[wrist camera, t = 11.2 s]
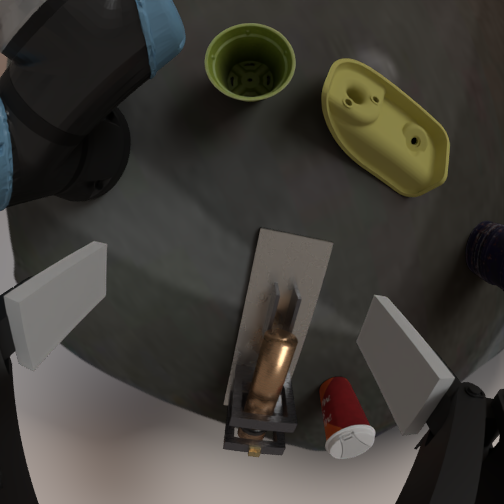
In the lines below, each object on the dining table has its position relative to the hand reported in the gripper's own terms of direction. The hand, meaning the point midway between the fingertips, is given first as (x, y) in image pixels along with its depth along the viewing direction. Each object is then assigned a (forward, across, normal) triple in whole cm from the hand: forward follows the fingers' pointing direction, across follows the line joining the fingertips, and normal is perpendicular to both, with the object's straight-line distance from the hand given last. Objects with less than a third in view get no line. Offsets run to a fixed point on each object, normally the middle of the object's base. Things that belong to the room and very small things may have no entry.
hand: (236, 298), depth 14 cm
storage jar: (+27, +41, +3) cm, 49 cm away
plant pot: (+27, -3, +17) cm, 32 cm away
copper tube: (+22, +7, -24) cm, 33 cm away
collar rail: (+27, +7, -18) cm, 33 cm away
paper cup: (+27, +21, -27) cm, 44 cm away
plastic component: (+27, +15, +15) cm, 35 cm away
